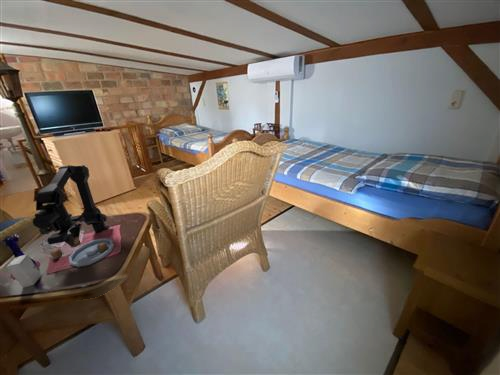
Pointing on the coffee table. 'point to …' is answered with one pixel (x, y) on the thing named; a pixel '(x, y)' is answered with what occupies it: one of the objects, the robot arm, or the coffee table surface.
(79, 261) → the groove tray
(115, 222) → the coffee table surface
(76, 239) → the bead
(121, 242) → the coffee table surface
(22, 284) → the skincare box
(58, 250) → the bead
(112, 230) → the coffee table surface
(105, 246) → the wooden rounded peg
